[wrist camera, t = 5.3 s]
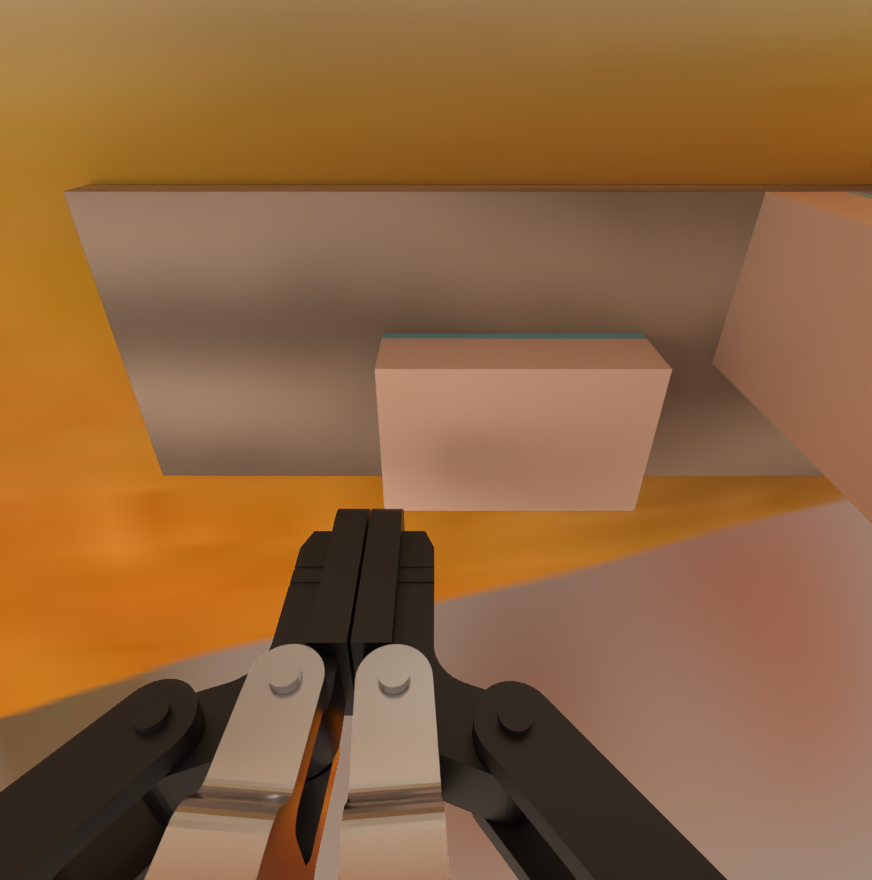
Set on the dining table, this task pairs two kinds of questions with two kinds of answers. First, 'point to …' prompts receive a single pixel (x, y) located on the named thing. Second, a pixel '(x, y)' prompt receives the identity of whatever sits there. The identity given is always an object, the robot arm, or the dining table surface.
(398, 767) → the robot arm
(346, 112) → the dining table surface
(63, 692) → the dining table surface
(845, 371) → the tile
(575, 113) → the dining table surface
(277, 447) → the board
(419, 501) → the tile
